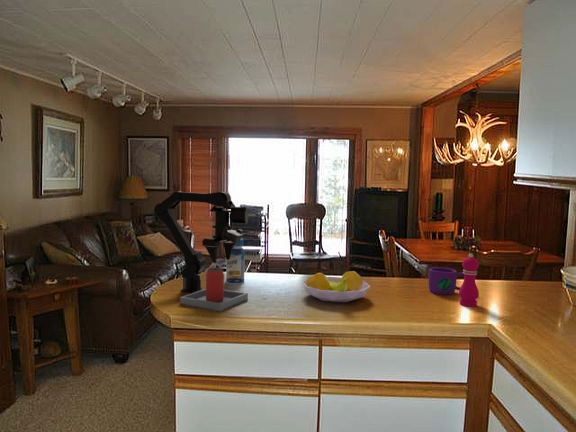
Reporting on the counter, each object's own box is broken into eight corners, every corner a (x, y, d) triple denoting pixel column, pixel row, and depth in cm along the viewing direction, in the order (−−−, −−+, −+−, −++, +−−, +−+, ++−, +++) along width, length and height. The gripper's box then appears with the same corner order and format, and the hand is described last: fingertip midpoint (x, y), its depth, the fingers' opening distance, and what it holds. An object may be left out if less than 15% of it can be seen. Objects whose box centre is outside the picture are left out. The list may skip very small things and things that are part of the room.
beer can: (219, 303, 165) (220, 271, 164) (203, 302, 166) (203, 270, 165) (225, 299, 171) (226, 268, 170) (209, 297, 173) (210, 266, 172)
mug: (430, 295, 188) (431, 271, 187) (425, 288, 199) (426, 266, 198) (473, 297, 186) (475, 273, 185) (466, 290, 197) (467, 268, 196)
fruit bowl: (307, 288, 195) (307, 262, 194) (370, 293, 189) (371, 266, 188) (294, 305, 167) (295, 275, 166) (368, 311, 162) (370, 280, 161)
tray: (179, 304, 165) (180, 297, 164) (209, 294, 181) (209, 287, 181) (220, 311, 157) (220, 304, 157) (247, 300, 173) (247, 293, 173)
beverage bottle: (248, 283, 202) (249, 239, 200) (233, 286, 195) (234, 240, 194) (236, 280, 207) (237, 237, 206) (221, 282, 201) (222, 238, 200)
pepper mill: (477, 303, 176) (480, 252, 175) (478, 308, 170) (481, 255, 168) (457, 301, 179) (460, 251, 177) (458, 305, 172) (461, 254, 171)
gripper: (225, 226, 169) (224, 267, 170) (251, 222, 185) (250, 260, 187) (201, 224, 174) (201, 264, 175) (228, 221, 190) (228, 257, 192)
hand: (221, 261), depth 182 cm, fingers open, 9 cm apart
